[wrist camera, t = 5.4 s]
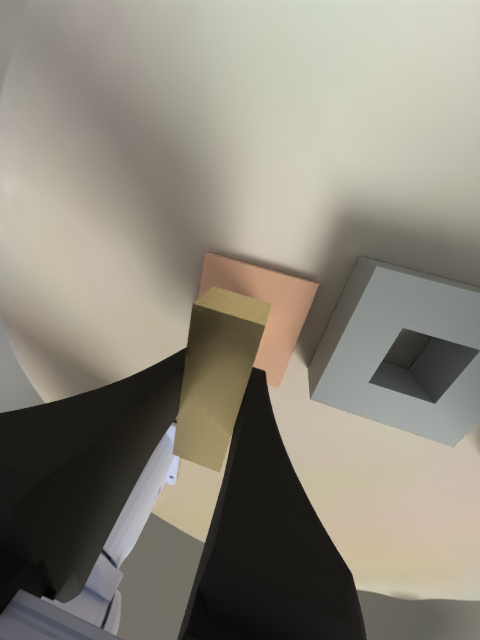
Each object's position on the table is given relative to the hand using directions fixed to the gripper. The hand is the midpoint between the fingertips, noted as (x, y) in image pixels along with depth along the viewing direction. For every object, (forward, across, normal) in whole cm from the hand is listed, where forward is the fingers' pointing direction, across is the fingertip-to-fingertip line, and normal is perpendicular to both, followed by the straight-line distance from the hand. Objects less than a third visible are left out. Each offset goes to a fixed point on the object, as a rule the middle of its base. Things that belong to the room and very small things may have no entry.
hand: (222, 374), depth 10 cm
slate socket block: (+6, -9, -2) cm, 11 cm away
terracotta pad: (+6, 0, 0) cm, 6 cm away
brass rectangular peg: (+5, 0, 0) cm, 5 cm away
